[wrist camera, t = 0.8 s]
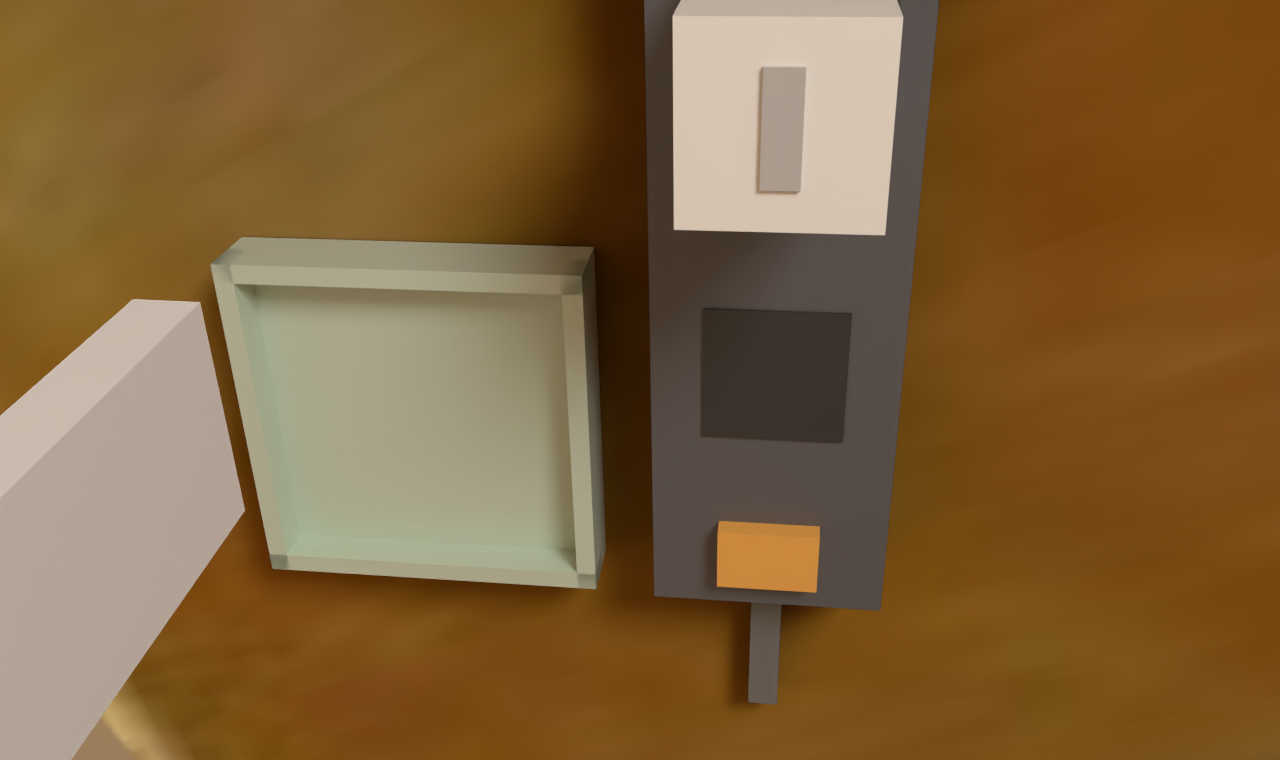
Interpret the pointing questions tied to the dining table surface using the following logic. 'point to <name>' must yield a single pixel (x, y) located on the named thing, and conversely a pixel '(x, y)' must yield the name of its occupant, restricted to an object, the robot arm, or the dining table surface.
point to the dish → (420, 406)
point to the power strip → (778, 380)
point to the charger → (784, 114)
